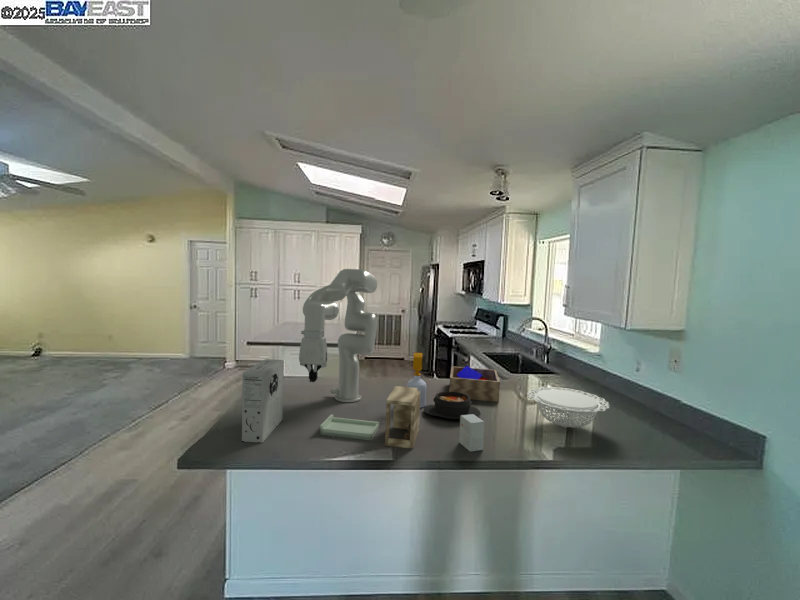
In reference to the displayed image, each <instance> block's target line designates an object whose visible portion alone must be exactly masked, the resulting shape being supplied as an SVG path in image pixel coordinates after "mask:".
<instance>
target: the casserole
mask: <svg viewBox="0 0 800 600" xmlns="http://www.w3.org/2000/svg"><path fill="white" fill-rule="evenodd" d="M432 400H433V402H434V404H427V405H425V406H424V407H423V411H424V412H425V413H426V414H428V415H430V416H434V417H441V418H444V419H448V420H460V416H461V415H470V414H474V415H475V416H477V417H479V416H481V411H480V410H479V409H478V408H476V407H475V406H472V405H473V404H472V403H473V402H472V401H471V399H470V397H469V396H467V395H466V394H463V393H459V392H451V391H441V392H437V393H436V394H435V396H434V397H433V399H432Z"/></svg>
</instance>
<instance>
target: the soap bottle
mask: <svg viewBox="0 0 800 600" xmlns="http://www.w3.org/2000/svg"><path fill="white" fill-rule="evenodd" d="M412 369H413V370H414V372H415V373H413V378H411V379H409V381H407V383H406V387H412V388H418V391H421V393H420V409H422V408H424V407H425V406H427V405H426V403H427V400H426V399H427V383H426V382H425V380H424V379H422V378H421V376H422V374H421V373H420V371H422V369H423V353H422V352H414V353H413V358H412Z"/></svg>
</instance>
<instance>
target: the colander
mask: <svg viewBox="0 0 800 600" xmlns="http://www.w3.org/2000/svg"><path fill="white" fill-rule="evenodd" d="M526 394H527V396H528V398H529V399H530V400H533V401H534V402H535V403H537V408H538V410H539V412H540V414H541V416H542V417H543V418H544V419H546V420H547V421H548V422H551V423H553V424H555V425H558V426H561V427H562V428H581V427H585V426H587V425H589V424H591V422H593V421H594V420H595V418H596V417H597V413H599V412H606V411H607V410H609V409H610V407H611V406H610V403H609V401H606V399H605V398H603V397H599V396H598V395H596V394H593V393H589V392H585V391H582V390H577V389H573V388H569V387H567V388H565V387H560V386H559V387H558V386H553V387H552V386H541V387H537V388H536V387H533V388H532V389H531V388H530V389H528V391H527V393H526Z"/></svg>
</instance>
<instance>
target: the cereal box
mask: <svg viewBox="0 0 800 600" xmlns="http://www.w3.org/2000/svg"><path fill="white" fill-rule="evenodd" d="M241 376H242V379H241V381H242V385H241V387H242V391H241V392H242V393H241V400H242V401H241V442H242V441H244V442H243V443H258V442H259V443H261V444H262V443H264V441H265V440H266V439H267V438H268V437H269V436H270V435H271V433H272V432H273V431H275V429H276V428H277V427H278V426H279V424H280V423H281V422H282V421H283V417H284V414H283V410H284V408H283V407H284V405H283V404H284V359H275V358H274V359H272V358H270V359H269V358H265V359H264V360H262V361H260V362H258V363H257V364H255V365H253V366H252V367H250V368H248V369H246V370H245V371H243V372H242V375H241ZM276 426H277V427H276Z"/></svg>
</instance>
